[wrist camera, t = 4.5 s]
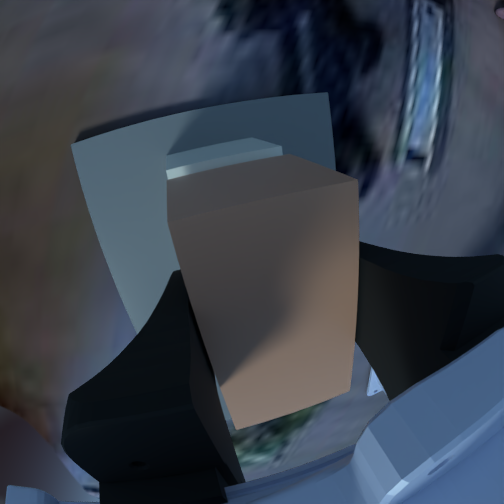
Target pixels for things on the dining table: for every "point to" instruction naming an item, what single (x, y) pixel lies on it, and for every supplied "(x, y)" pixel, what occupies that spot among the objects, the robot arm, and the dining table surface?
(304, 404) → the tan rectangular block
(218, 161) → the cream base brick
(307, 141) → the baseplate
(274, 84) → the dining table surface
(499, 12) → the pink curved figurine
